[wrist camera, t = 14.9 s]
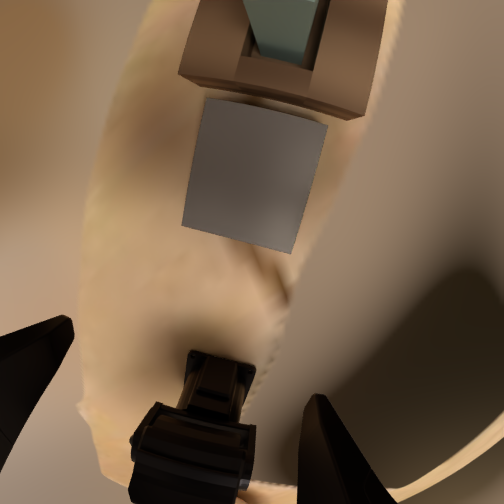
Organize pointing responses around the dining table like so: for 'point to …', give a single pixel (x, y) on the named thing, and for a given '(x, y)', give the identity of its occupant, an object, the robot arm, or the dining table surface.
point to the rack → (285, 73)
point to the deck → (252, 173)
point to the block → (282, 27)
